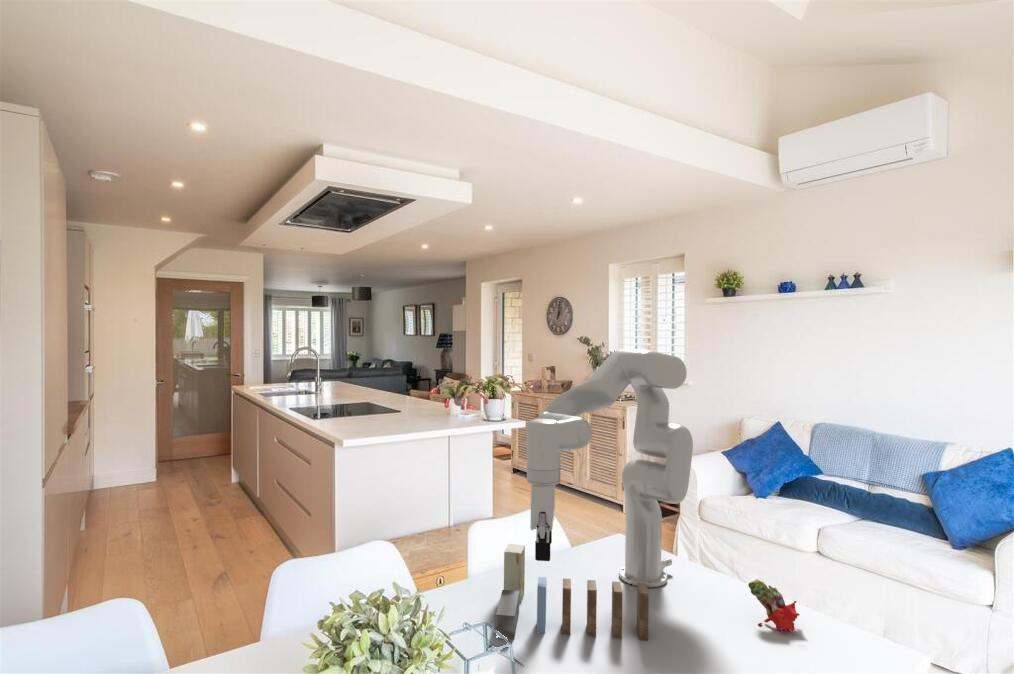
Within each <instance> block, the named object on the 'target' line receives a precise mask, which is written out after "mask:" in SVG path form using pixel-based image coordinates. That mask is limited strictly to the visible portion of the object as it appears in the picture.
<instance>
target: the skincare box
mask: <svg viewBox="0 0 1014 674" xmlns="http://www.w3.org/2000/svg"><path fill="white" fill-rule="evenodd" d="M503 554H504V555H503V557H504V558H503V590H514V591H519V605H520V604H521V603H522V601H523V599H524V597H525V596H524V595H525V573H526V571H525V569H526V568H525V567H526V566H525V565H526V562H525V561H526V557H525V556H526V545H524V544H517V543H515V544H514V543H513V544H512V543H509V544H508V545H507V547H506V548H505V550H504V552H503Z"/></svg>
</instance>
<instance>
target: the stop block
mask: <svg viewBox="0 0 1014 674" xmlns="http://www.w3.org/2000/svg"><path fill="white" fill-rule="evenodd" d="M519 614H520V604H519V591H514V590H504V589H502V590H501V594H500V598H499V602H498V606H497V610H496V613H495V631H496V630H497V631H499V632H500V633H501V634H502V635H504V636H505V637H507V638H508V639H507V640H515V637H516V631H517V627H518V622H519ZM496 636H497V635H496V634H495V637H496ZM497 639H500V638H499V637H498V638H497Z"/></svg>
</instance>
